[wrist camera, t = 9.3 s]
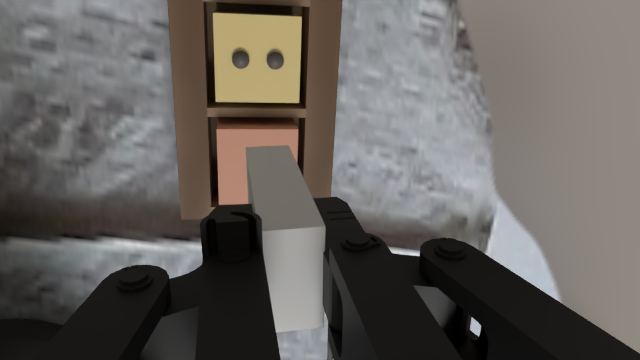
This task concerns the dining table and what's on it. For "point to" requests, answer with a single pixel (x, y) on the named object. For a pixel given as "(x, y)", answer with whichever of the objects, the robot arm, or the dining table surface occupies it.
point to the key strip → (203, 111)
